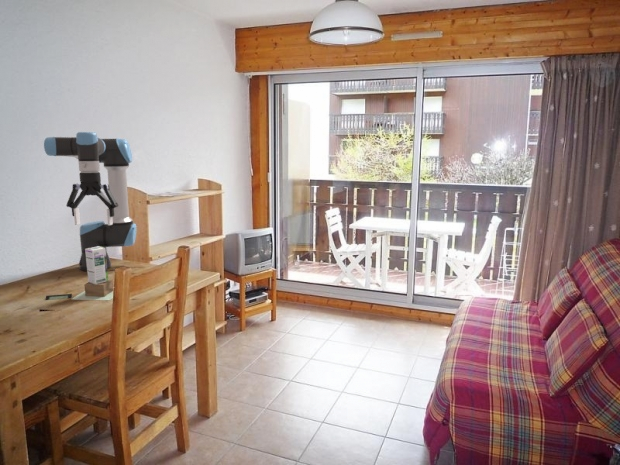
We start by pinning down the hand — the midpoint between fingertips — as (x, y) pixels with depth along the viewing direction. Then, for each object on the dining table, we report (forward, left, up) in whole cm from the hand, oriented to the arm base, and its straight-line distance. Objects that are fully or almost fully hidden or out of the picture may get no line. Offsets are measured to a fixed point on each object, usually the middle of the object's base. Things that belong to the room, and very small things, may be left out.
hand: (94, 224), depth 194 cm
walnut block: (0, 0, -29) cm, 29 cm away
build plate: (0, 0, -31) cm, 31 cm away
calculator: (+11, -12, -31) cm, 35 cm away
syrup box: (0, 0, -24) cm, 24 cm away
